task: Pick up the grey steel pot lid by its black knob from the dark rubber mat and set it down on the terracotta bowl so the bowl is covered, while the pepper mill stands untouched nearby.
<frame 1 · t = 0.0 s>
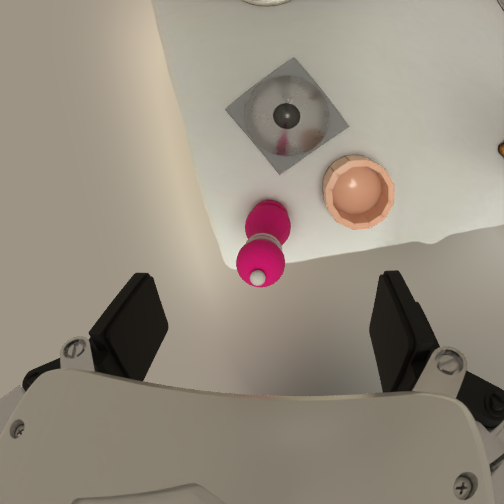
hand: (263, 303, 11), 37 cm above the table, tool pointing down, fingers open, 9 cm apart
lid: (287, 115, 40), resting on mat
bowl: (354, 187, 44), on the table
mat: (287, 115, 41), on the table
pepper mill: (269, 216, 49), on the table
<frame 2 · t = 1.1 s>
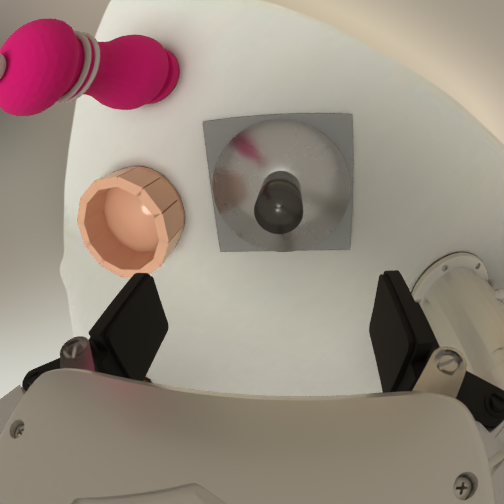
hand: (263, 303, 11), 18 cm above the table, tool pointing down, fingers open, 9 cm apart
lid: (281, 186, 27), resting on mat
bowl: (140, 213, 31), on the table
mat: (281, 185, 27), on the table
pepper mill: (152, 75, 23), on the table
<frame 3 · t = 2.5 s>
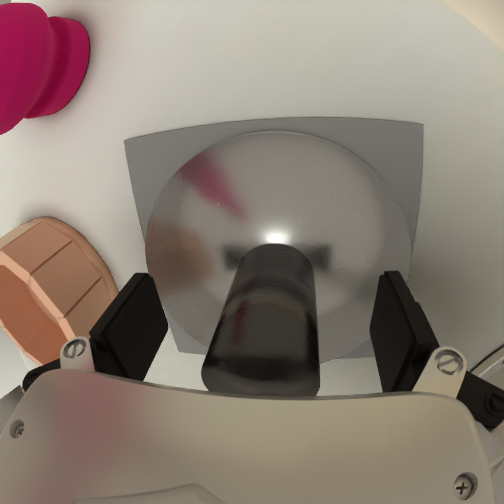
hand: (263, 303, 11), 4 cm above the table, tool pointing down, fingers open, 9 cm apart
lid: (277, 265, 14), resting on mat
bowl: (64, 283, 18), on the table
mat: (277, 261, 14), on the table
pepper mill: (56, 66, 11), on the table
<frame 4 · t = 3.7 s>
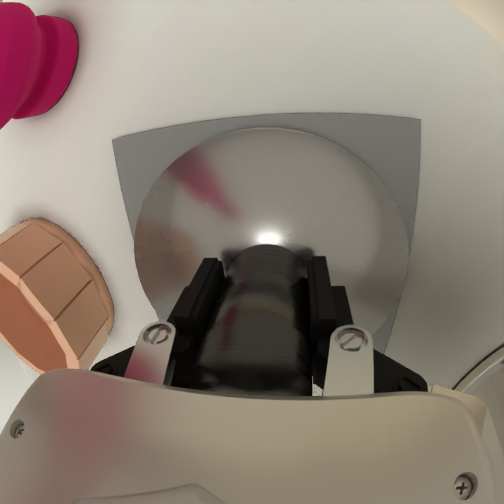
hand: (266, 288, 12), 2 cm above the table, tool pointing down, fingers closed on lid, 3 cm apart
lid: (269, 266, 14), resting on mat, touching gripper
bowl: (56, 285, 17), on the table
mat: (270, 262, 14), on the table
pepper mill: (45, 65, 10), on the table
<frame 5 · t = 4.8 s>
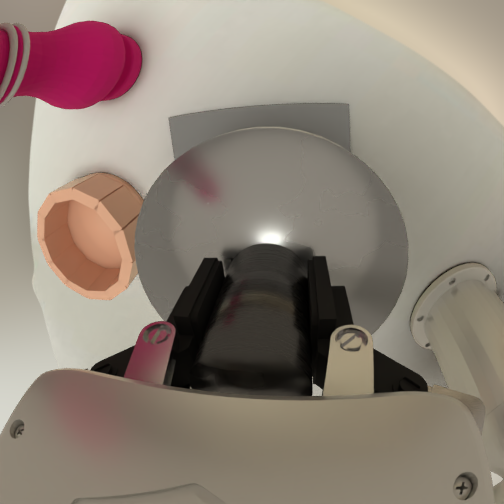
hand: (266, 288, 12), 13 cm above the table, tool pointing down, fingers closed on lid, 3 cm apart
lid: (269, 265, 14), point 11 cm above the table, touching gripper
bowl: (105, 225, 26), on the table
mat: (264, 190, 23), on the table
pepper mill: (113, 67, 18), on the table
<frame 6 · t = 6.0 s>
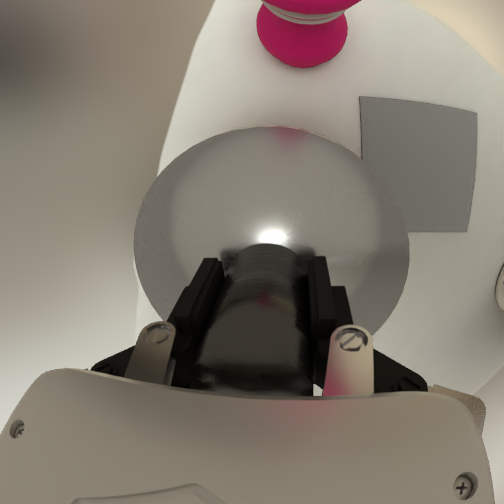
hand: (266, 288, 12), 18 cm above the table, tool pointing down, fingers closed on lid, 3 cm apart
lid: (269, 265, 14), point 16 cm above the table, touching gripper
mat: (423, 168, 24), on the table
pepper mill: (301, 39, 21), on the table
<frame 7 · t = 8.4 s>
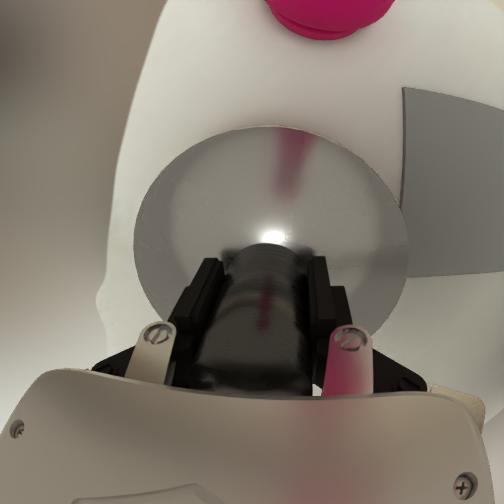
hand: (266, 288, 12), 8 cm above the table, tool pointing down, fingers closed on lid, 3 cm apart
lid: (269, 265, 14), point 6 cm above the table, touching gripper
mat: (476, 193, 16), on the table
pepper mill: (317, 1, 12), on the table
when the fingers open (8 cm above the table, at t = 8.4 s): lid drops 1 cm, resting on bowl.
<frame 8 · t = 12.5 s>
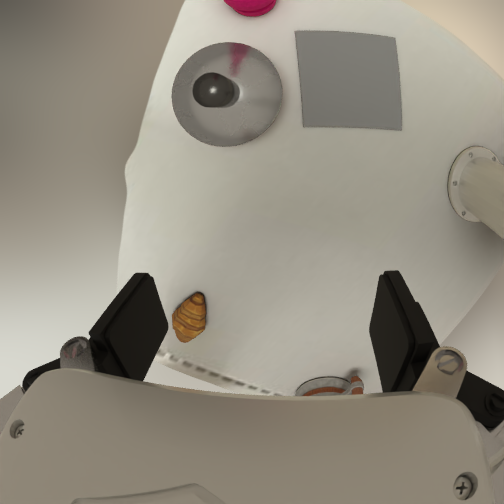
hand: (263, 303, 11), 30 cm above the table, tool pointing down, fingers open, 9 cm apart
lid: (226, 93, 30), point 5 cm above the table, touching bowl
mug: (331, 386, 59), on the table
mat: (351, 78, 31), on the table
croissant: (191, 314, 54), on the table
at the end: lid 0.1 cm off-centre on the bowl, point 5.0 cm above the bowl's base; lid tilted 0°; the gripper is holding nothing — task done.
